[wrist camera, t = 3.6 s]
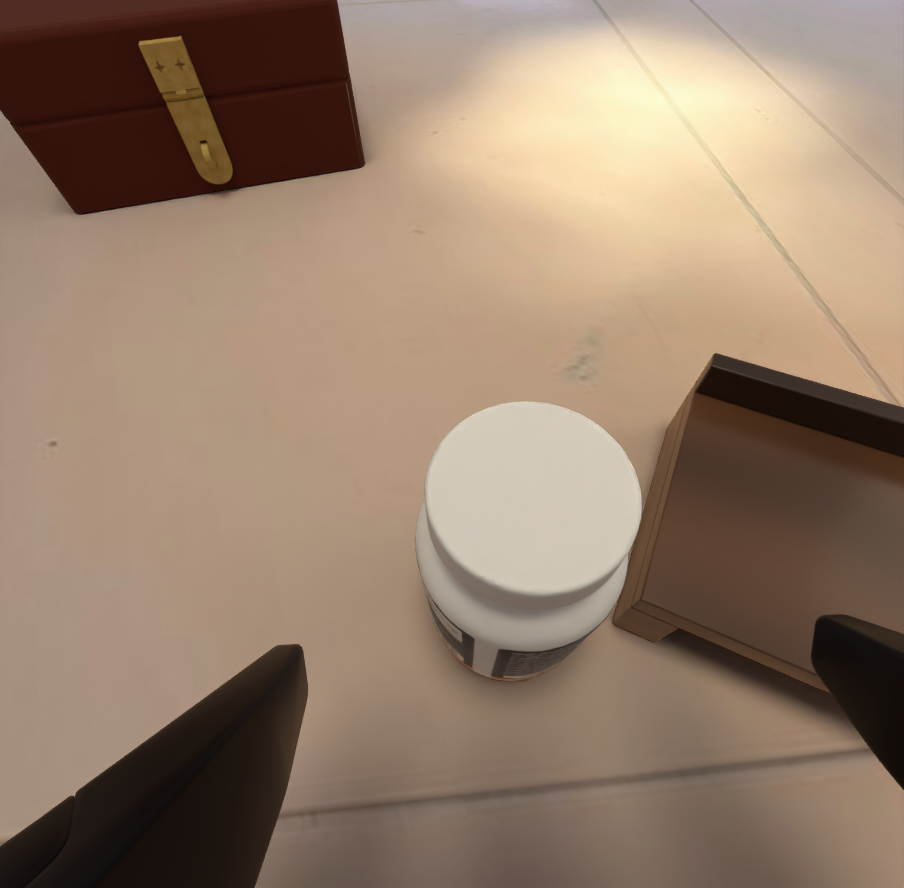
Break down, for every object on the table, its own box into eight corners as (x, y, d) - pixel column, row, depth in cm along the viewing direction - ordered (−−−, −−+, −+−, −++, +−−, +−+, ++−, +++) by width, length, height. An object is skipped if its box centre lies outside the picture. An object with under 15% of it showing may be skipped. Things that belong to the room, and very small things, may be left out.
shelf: (1062, 827, 15) (1312, 859, 10) (611, 624, 18) (657, 585, 14) (1017, 543, 19) (1174, 485, 15) (667, 426, 23) (714, 351, 19)
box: (70, 226, 33) (-66, 47, 24) (99, 118, 42) (6, -42, 33) (369, 176, 36) (339, -3, 27) (337, 84, 44) (308, -73, 36)
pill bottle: (582, 547, 20) (668, 399, 11) (571, 701, 17) (678, 654, 8) (447, 522, 20) (435, 365, 12) (414, 664, 17) (367, 588, 9)
